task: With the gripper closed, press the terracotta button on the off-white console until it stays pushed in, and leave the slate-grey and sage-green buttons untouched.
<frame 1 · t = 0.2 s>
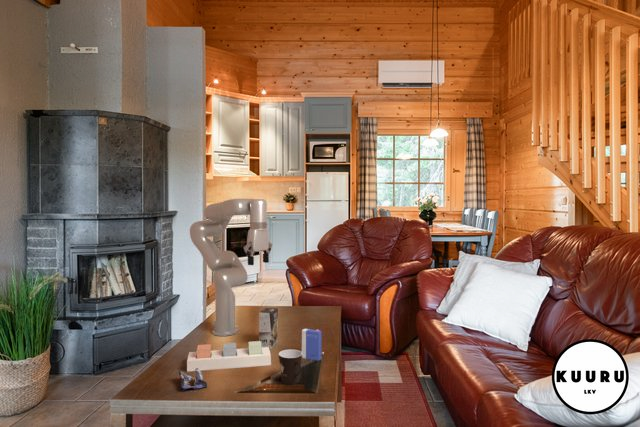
hand: (258, 263, 197), 37 cm above the table, tool pointing down, fingers open, 9 cm apart
button console: (229, 363, 173), on the table
sage-green button: (254, 349, 175), point 5 cm above the table, slide at 0.0 cm
slate-grey button: (229, 350, 173), point 5 cm above the table, slide at 0.0 cm
snack package: (192, 386, 153), on the table
coffee mug: (290, 382, 156), on the table
terracotta button: (204, 352, 171), point 5 cm above the table, slide at 0.0 cm
coffee box: (268, 345, 195), on the table
walkman: (311, 358, 179), on the table
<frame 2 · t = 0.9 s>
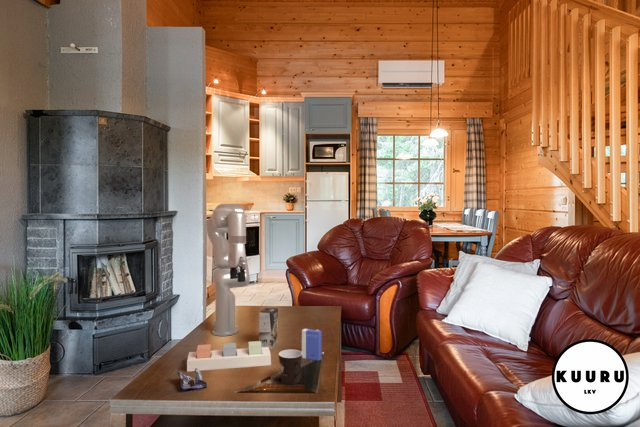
hand: (237, 280, 185), 31 cm above the table, tool pointing down, fingers open, 9 cm apart
nothing on the table moved.
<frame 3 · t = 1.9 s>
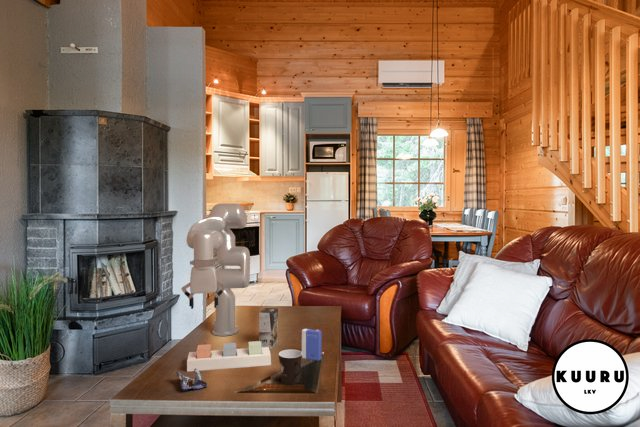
hand: (203, 307, 170), 23 cm above the table, tool pointing down, fingers open, 8 cm apart
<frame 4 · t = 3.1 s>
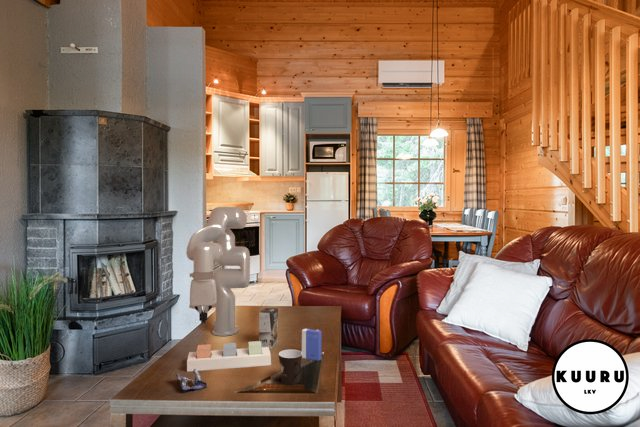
hand: (203, 322, 170), 17 cm above the table, tool pointing down, fingers closed
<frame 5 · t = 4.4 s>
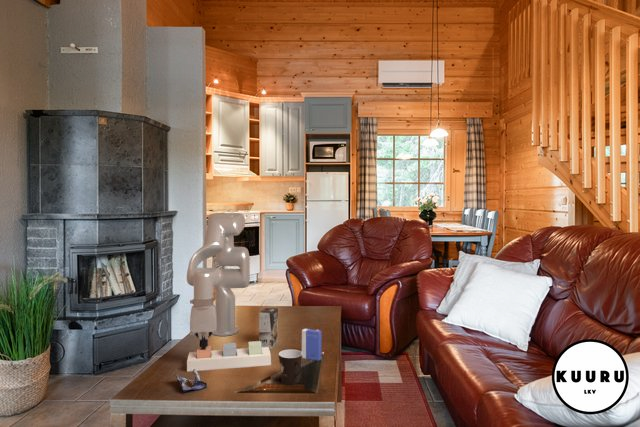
hand: (203, 348, 171), 7 cm above the table, tool pointing down, fingers closed
terracotta button: (204, 354, 171), point 4 cm above the table, slide at 0.7 cm, touching gripper
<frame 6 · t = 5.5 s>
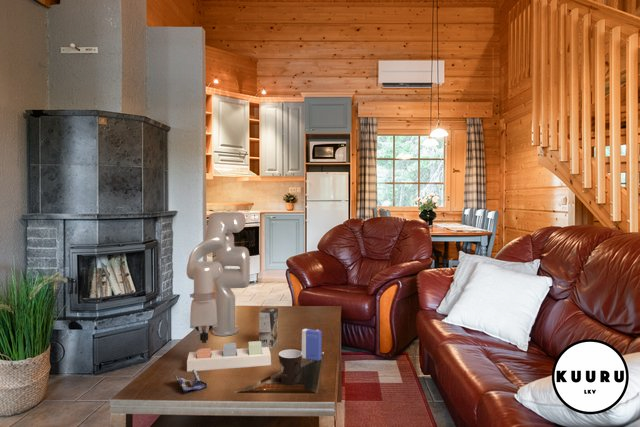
hand: (204, 341, 171), 9 cm above the table, tool pointing down, fingers closed
terracotta button: (204, 356, 171), point 4 cm above the table, slide at 1.5 cm
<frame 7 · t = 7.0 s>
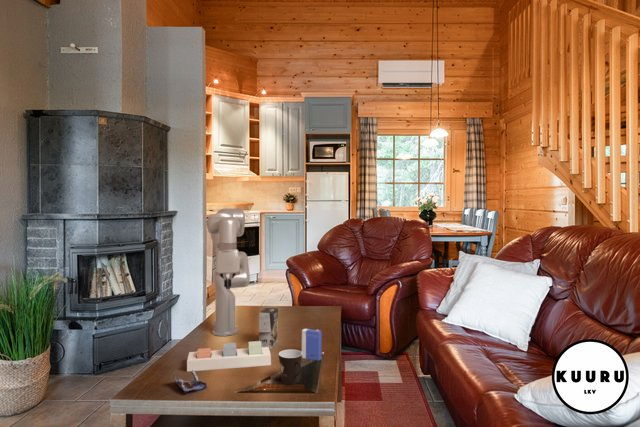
hand: (227, 288, 188), 27 cm above the table, tool pointing down, fingers closed
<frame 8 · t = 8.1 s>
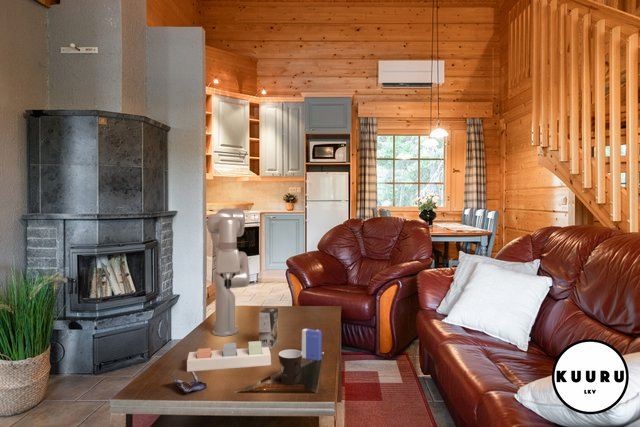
hand: (227, 288, 188), 27 cm above the table, tool pointing down, fingers closed
at the end: terracotta button slide at 1.5 cm; slate-grey button slide at 0.0 cm; sage-green button slide at 0.0 cm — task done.
